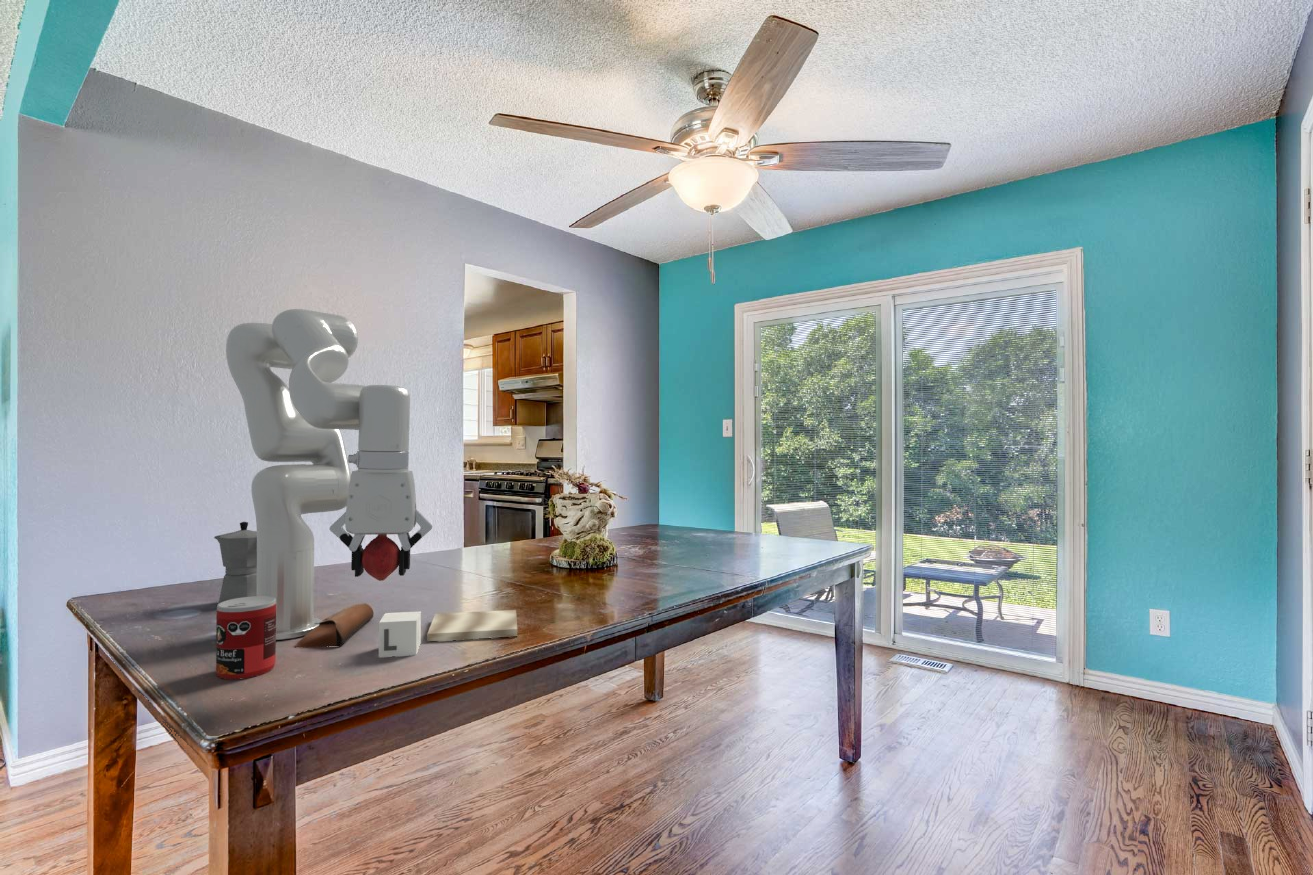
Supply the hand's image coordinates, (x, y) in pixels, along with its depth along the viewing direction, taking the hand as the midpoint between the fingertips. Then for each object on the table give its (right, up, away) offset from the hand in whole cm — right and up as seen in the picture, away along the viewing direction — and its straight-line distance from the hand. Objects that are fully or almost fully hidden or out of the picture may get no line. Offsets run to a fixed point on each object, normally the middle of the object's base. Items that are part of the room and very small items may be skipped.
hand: (381, 573), depth 105 cm
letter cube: (0, -15, +9) cm, 18 cm away
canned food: (-20, -15, -2) cm, 26 cm away
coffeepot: (-47, -15, +40) cm, 63 cm away
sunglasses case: (-16, -16, +19) cm, 29 cm away
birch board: (+9, -15, +22) cm, 28 cm away
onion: (0, -1, 0) cm, 1 cm away
